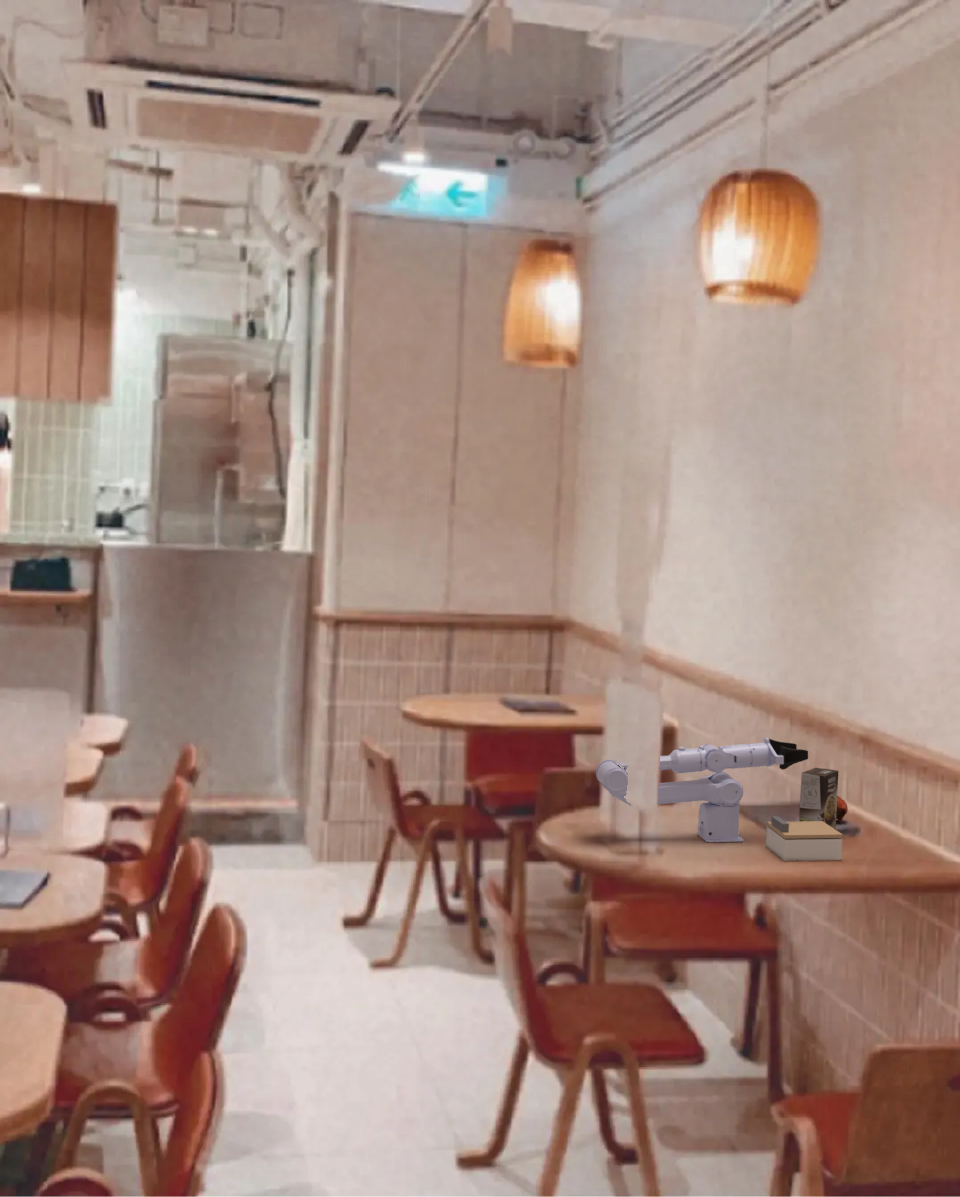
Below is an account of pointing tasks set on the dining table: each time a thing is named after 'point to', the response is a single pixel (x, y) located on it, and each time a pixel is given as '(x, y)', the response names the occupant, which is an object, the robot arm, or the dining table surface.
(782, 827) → the mailer lid
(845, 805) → the pomegranate
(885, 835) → the dining table surface
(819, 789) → the coffee box
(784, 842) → the mailer base
